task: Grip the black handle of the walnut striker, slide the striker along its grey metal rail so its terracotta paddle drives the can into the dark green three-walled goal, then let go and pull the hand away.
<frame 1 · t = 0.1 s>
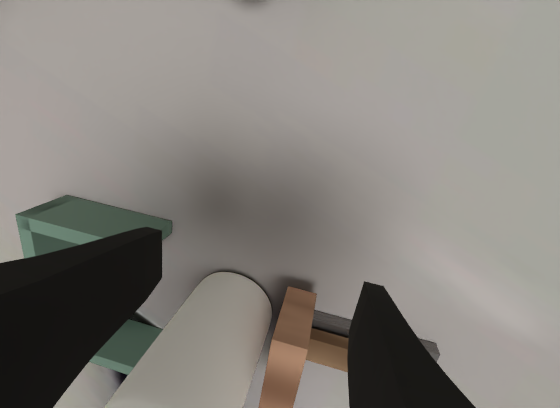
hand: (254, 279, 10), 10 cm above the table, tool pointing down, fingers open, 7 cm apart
can: (235, 302, 24), on the table
rail: (353, 337, 23), on the table
striker: (347, 381, 19), point 4 cm above the table, slide at 0.0 cm
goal: (127, 273, 25), on the table
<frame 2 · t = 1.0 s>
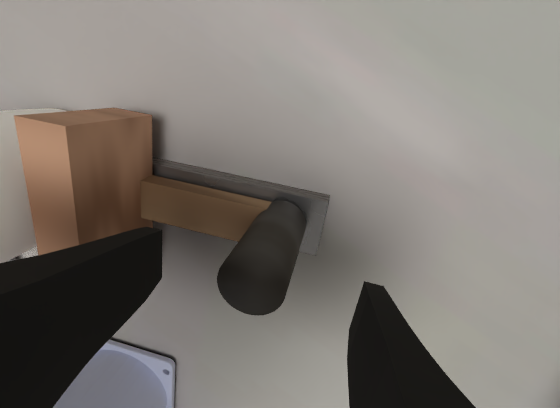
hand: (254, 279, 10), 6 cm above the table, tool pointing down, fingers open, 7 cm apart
can: (76, 163, 18), on the table
rail: (224, 199, 17), on the table
striker: (182, 227, 13), point 4 cm above the table, slide at 0.0 cm
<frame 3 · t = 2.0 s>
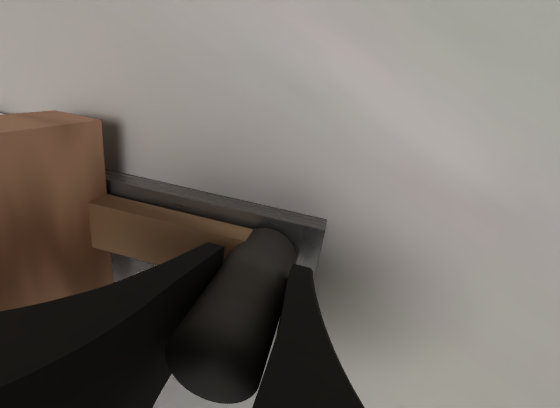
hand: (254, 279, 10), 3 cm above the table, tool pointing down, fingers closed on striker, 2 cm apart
rail: (198, 222, 14), on the table
striker: (134, 266, 10), point 4 cm above the table, slide at 0.0 cm, touching gripper
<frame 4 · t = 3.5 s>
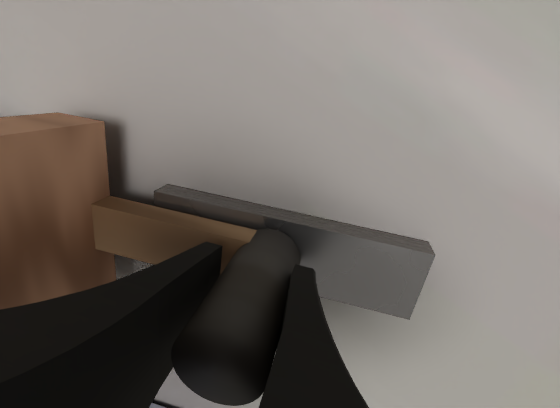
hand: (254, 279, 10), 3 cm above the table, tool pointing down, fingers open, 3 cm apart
rail: (284, 242, 13), on the table
striker: (138, 268, 10), point 4 cm above the table, slide at 3.9 cm, touching gripper
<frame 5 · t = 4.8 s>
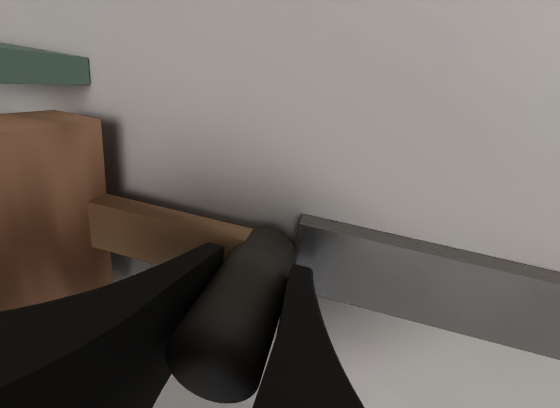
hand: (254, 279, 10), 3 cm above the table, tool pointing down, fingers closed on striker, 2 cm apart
rail: (429, 277, 12), on the table
striker: (134, 266, 10), point 4 cm above the table, slide at 10.0 cm, touching can, gripper
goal: (27, 180, 15), on the table
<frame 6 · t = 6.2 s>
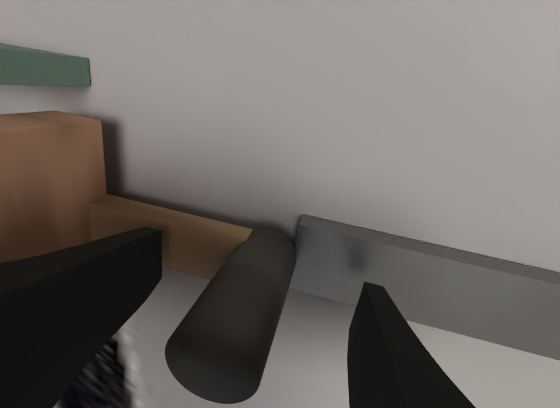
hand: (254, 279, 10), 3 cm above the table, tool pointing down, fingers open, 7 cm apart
rail: (429, 278, 12), on the table
striker: (134, 266, 10), point 4 cm above the table, slide at 10.0 cm, touching can
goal: (27, 180, 15), on the table
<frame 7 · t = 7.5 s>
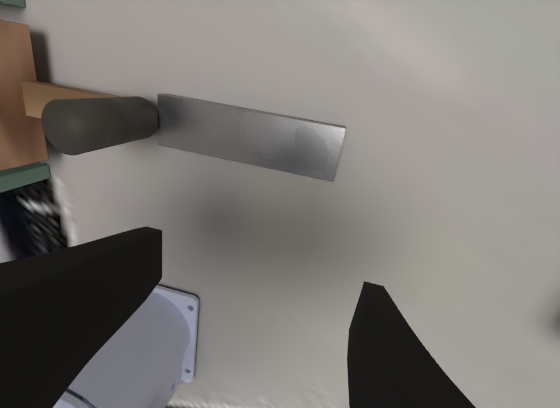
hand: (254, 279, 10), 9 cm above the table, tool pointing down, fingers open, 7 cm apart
rail: (249, 134, 18), on the table
striker: (43, 109, 16), point 4 cm above the table, slide at 10.0 cm, touching can
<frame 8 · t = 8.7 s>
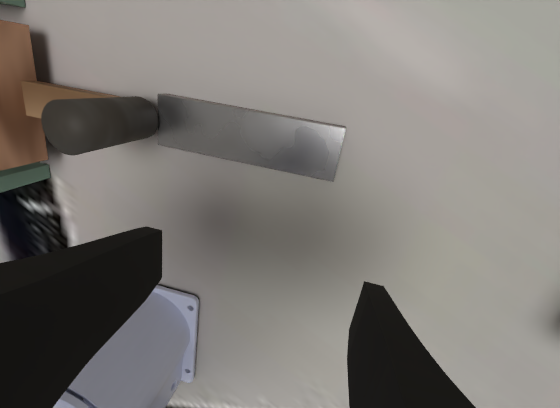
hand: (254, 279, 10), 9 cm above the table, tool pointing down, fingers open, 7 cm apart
rail: (249, 134, 18), on the table
striker: (43, 109, 16), point 4 cm above the table, slide at 10.0 cm, touching can
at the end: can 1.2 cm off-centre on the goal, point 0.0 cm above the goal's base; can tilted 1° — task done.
